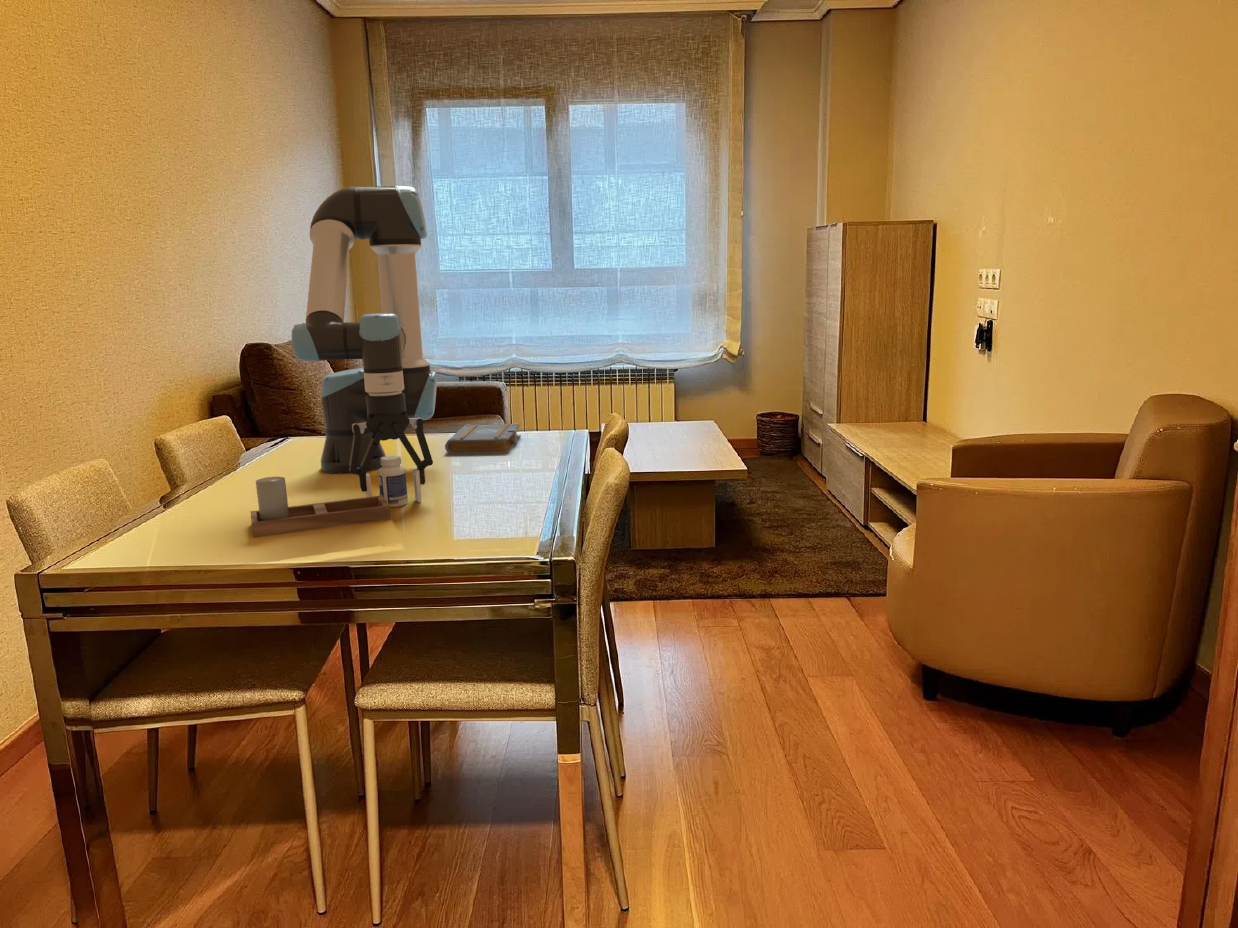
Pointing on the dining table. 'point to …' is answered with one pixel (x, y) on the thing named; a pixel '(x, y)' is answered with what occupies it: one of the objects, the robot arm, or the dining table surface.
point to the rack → (323, 516)
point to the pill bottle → (392, 481)
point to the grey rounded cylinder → (272, 498)
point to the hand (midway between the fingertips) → (394, 503)
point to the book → (483, 439)
